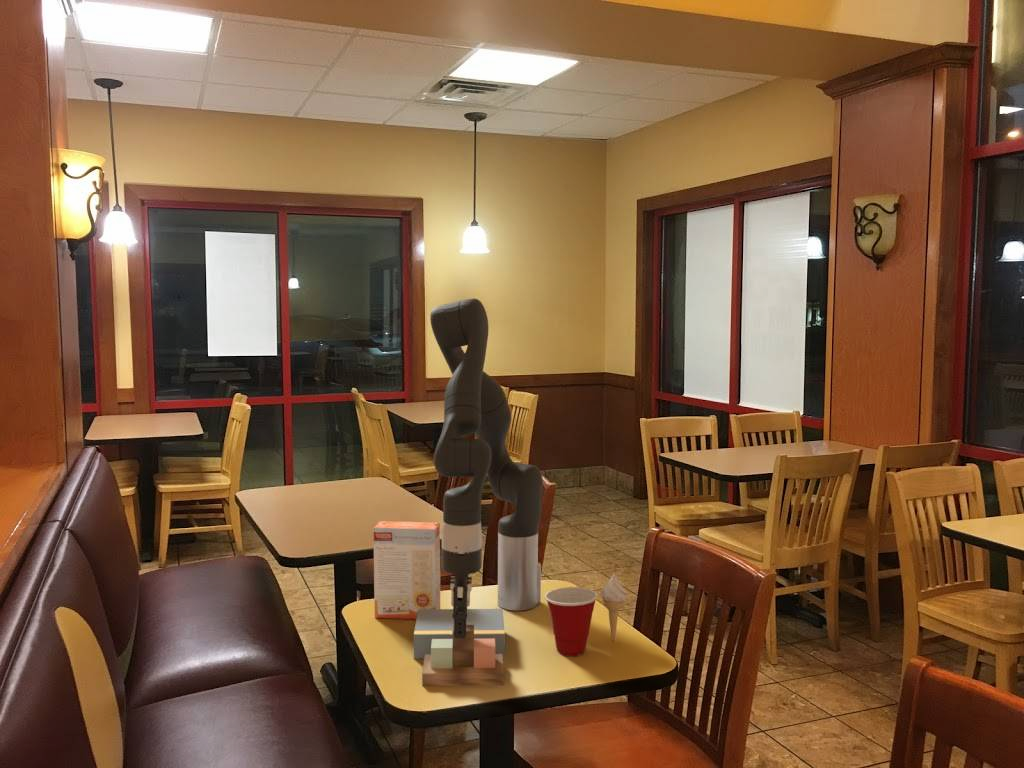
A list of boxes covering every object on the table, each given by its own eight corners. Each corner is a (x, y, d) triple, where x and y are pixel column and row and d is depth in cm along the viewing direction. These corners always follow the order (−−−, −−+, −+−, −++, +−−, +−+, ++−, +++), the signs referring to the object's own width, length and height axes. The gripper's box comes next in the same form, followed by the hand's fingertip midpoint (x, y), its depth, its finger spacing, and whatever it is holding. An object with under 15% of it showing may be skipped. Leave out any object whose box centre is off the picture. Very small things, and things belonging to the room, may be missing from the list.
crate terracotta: (494, 658, 160) (494, 638, 160) (495, 667, 156) (495, 647, 156) (473, 658, 160) (474, 638, 160) (473, 668, 156) (473, 647, 156)
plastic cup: (567, 634, 178) (568, 579, 176) (607, 650, 170) (609, 593, 169) (532, 649, 170) (533, 592, 169) (572, 666, 163) (573, 607, 161)
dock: (502, 631, 179) (502, 608, 178) (504, 658, 166) (504, 633, 166) (418, 631, 178) (418, 609, 178) (413, 658, 165) (413, 634, 165)
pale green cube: (453, 658, 160) (453, 638, 160) (452, 668, 156) (452, 647, 156) (432, 659, 160) (432, 639, 159) (430, 668, 156) (430, 648, 155)
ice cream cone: (607, 648, 171) (609, 578, 169) (594, 638, 176) (596, 569, 174) (631, 644, 173) (633, 574, 171) (617, 633, 178) (619, 566, 176)
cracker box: (441, 611, 190) (441, 521, 187) (436, 621, 184) (435, 529, 181) (380, 608, 191) (379, 519, 189) (373, 618, 185) (372, 526, 183)
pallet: (502, 666, 163) (502, 619, 162) (503, 686, 155) (503, 636, 154) (424, 667, 162) (424, 619, 161) (422, 687, 154) (422, 637, 153)
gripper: (443, 533, 162) (442, 613, 164) (439, 556, 148) (438, 644, 150) (482, 533, 163) (480, 614, 164) (481, 556, 149) (480, 644, 150)
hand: (460, 628), depth 157 cm, fingers open, 8 cm apart
